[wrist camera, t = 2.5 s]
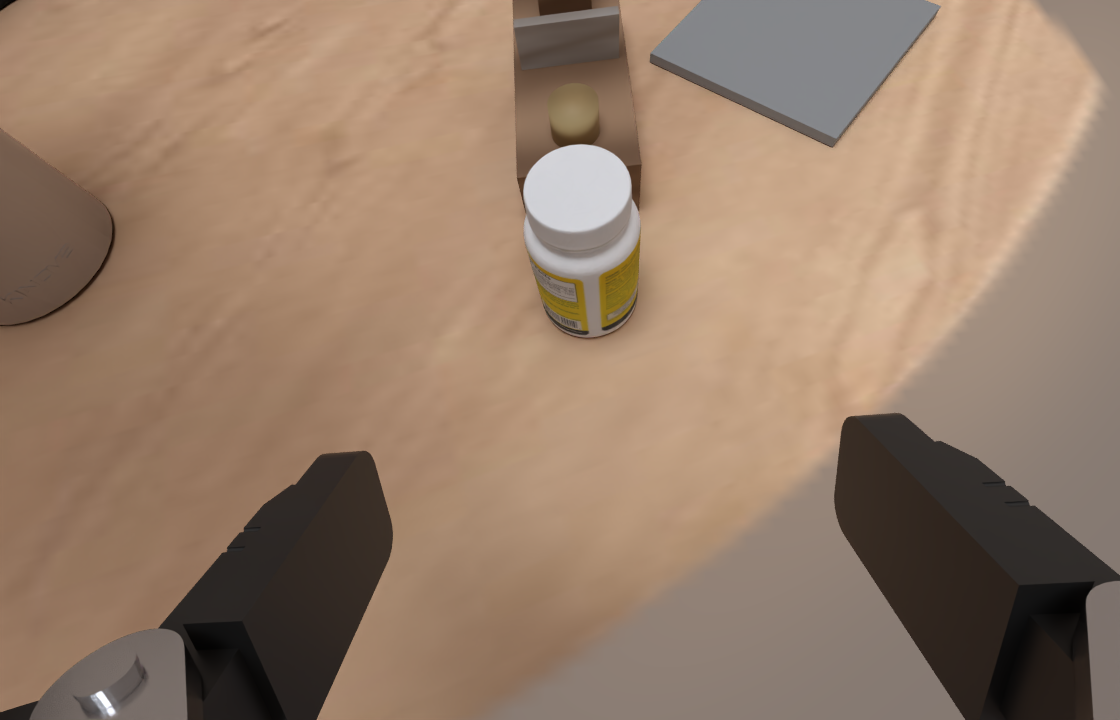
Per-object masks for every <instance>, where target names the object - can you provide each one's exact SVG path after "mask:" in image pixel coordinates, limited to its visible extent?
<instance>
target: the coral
mask: <svg viewBox="0 0 1120 720" xmlns="http://www.w3.org/2000/svg"><path fill="white" fill-rule="evenodd" d="M11 1H13V0H0V9H1V8H2V7H4V6H5V5H6V4H8V3H9V2H11Z"/></svg>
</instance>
